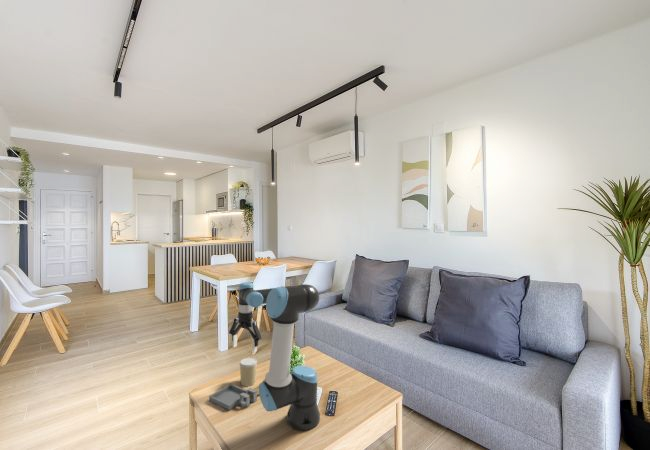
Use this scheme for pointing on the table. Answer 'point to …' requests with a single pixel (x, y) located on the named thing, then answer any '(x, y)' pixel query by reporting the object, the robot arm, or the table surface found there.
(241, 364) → the coffee cup
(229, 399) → the dock tray
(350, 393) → the table surface
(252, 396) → the lock pin
